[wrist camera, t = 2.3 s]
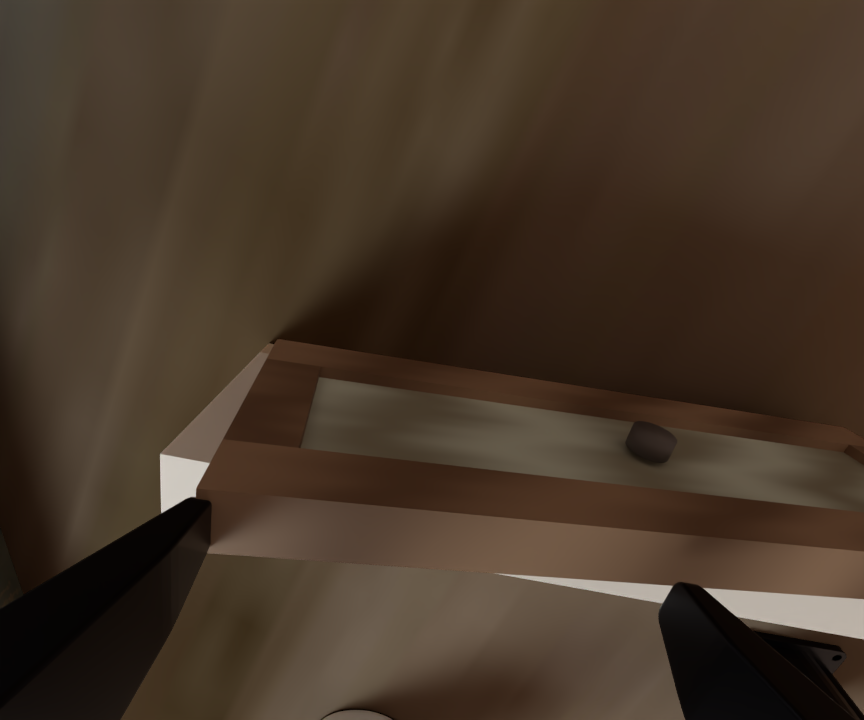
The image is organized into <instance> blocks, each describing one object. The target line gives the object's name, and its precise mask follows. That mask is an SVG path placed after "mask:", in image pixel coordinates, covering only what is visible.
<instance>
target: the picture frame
mask: <svg viewBox="0 0 864 720" xmlns="http://www.w3.org/2000/svg"><path fill="white" fill-rule="evenodd" d="M196 499H202V500H208V501H210V502H211V503H212V513H211V541H210V547H209V549H208V552H207V553H213V554H227V555H242V556H256V557H270V558H284V559H298V560H313V561H327V562H341V563H355V564H369V565H384V566H398V567H412V568H426V569H440V570H455V571H469V572H483V573H497V574H512V575H526V576H540V577H554V578H568V579H583V580H597V581H611V582H625V583H639V584H654V585H668V586H673V585H674V584H675V583H677V582H686V583H692V584H697V585H699V586H701V587H702V588H711V589H725V590H739V591H753V592H767V593H782V594H796V595H810V596H824V597H838V598H853V599H864V439H863V438H862V437H860V436H858V435H856V434H855V433H853V432H851V431H850V430H848V429H846V428H845V427H839V426H833V425H827V424H820V423H814V422H807V421H801V420H795V419H788V418H782V417H775V416H769V415H763V414H756V413H750V412H743V411H737V410H730V409H724V408H718V407H711V406H705V405H698V404H692V403H686V402H679V401H673V400H666V399H660V398H654V397H647V396H641V395H634V394H628V393H621V392H615V391H609V390H602V389H596V388H589V387H583V386H577V385H570V384H564V383H557V382H551V381H544V380H538V379H532V378H525V377H519V376H512V375H506V374H500V373H493V372H487V371H480V370H474V369H468V368H461V367H455V366H448V365H442V364H435V363H429V362H423V361H416V360H410V359H403V358H397V357H391V356H384V355H378V354H371V353H365V352H359V351H352V350H346V349H339V348H333V347H326V346H320V345H314V344H307V343H301V342H294V341H288V340H282V339H277V340H276V342H275V344H274V346H273V348H272V350H271V351H270V353H269V355H268V357H267V359H266V361H265V362H264V364H263V366H262V368H261V370H260V372H259V373H258V375H257V377H256V379H255V381H254V383H253V385H252V386H251V388H250V390H249V392H248V394H247V396H246V397H245V399H244V401H243V403H242V405H241V407H240V408H239V410H238V412H237V414H236V416H235V418H234V420H233V421H232V423H231V425H230V427H229V429H228V431H227V432H226V434H225V436H224V438H223V440H222V442H221V443H220V445H219V447H218V449H217V451H216V453H215V455H214V456H213V458H212V460H211V462H210V464H209V466H208V467H207V469H206V471H205V473H204V475H203V477H202V478H201V480H200V482H199V484H198V486H197V488H196Z"/></svg>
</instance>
